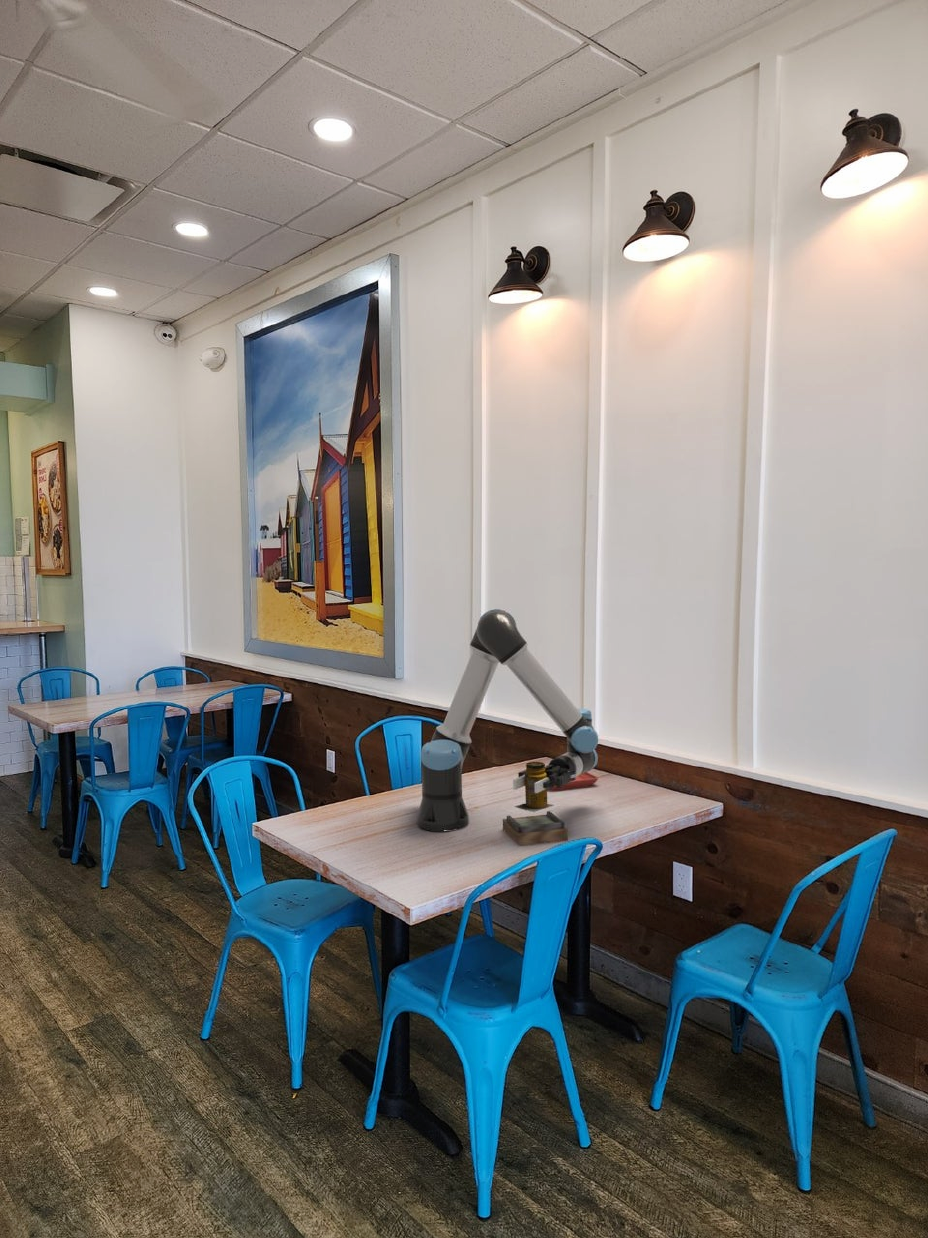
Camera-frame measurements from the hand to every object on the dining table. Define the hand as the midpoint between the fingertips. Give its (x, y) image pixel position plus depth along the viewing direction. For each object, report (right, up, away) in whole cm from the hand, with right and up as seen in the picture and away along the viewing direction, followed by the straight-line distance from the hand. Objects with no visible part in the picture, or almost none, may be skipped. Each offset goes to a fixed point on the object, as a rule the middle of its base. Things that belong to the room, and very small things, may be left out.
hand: (525, 786), depth 218 cm
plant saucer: (+18, -11, +58) cm, 62 cm away
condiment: (+3, -7, +5) cm, 9 cm away
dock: (+3, -14, +5) cm, 16 cm away
